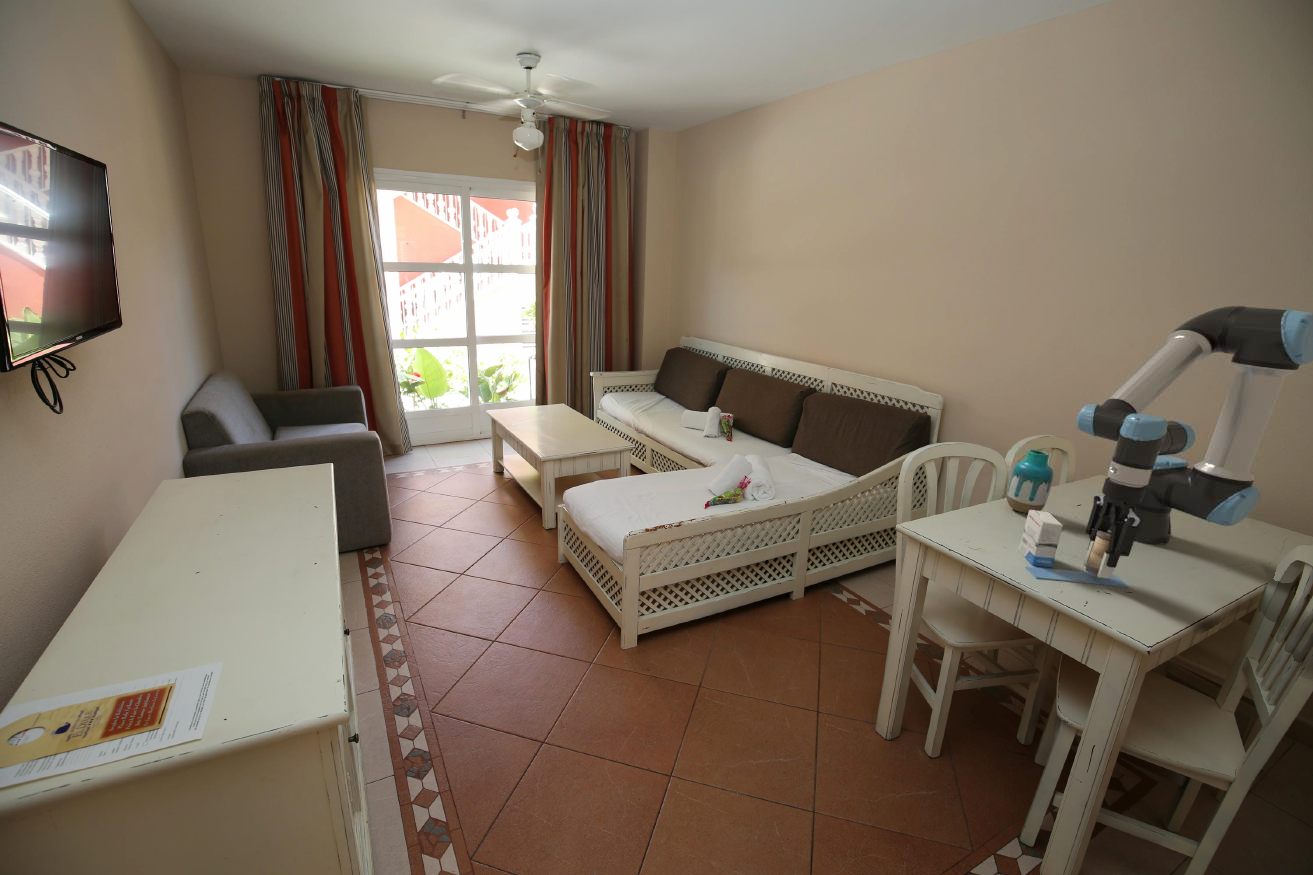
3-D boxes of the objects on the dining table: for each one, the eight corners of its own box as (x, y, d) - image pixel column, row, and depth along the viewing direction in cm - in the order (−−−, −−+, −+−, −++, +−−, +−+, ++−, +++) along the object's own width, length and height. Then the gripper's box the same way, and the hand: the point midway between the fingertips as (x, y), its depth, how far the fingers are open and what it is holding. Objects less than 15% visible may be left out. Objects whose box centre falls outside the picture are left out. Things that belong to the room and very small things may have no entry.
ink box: (1052, 568, 144) (1065, 525, 141) (1030, 565, 145) (1043, 522, 142) (1037, 552, 152) (1049, 511, 149) (1017, 549, 153) (1028, 508, 150)
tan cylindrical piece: (1101, 568, 142) (1113, 531, 139) (1112, 578, 138) (1125, 540, 135) (1081, 566, 142) (1093, 529, 140) (1092, 575, 138) (1104, 537, 135)
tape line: (1113, 575, 143) (1114, 574, 142) (1127, 586, 138) (1128, 585, 138) (1025, 567, 144) (1025, 566, 144) (1036, 578, 139) (1036, 577, 139)
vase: (1005, 501, 185) (1019, 444, 180) (1044, 510, 180) (1060, 452, 174) (1001, 511, 177) (1016, 452, 171) (1041, 521, 171) (1059, 460, 166)
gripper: (1085, 466, 142) (1059, 552, 149) (1136, 495, 125) (1104, 589, 132) (1117, 469, 141) (1090, 555, 148) (1172, 498, 124) (1139, 593, 131)
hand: (1097, 571), depth 140 cm, fingers closed on tan cylindrical piece, 5 cm apart
